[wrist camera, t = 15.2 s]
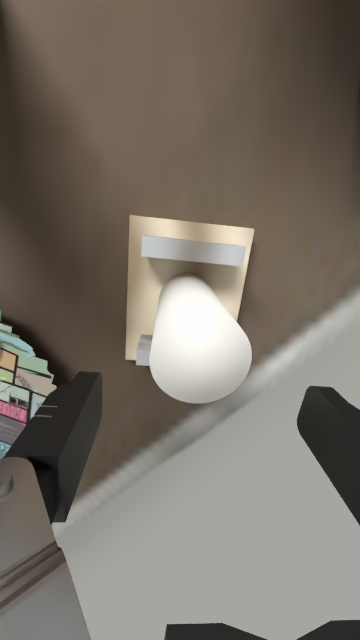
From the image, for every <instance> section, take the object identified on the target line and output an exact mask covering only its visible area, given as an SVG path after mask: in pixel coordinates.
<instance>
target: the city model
mask: <svg viewBox="0 0 360 640" xmlns="http://www.w3.org/2000/svg"><path fill="white" fill-rule="evenodd" d="M11 330H12V326H11V325H9V324H6V323H4V322H1V310H0V459H2V458H3V457H4V456H5V454H6V453H7V451H8V450H9V449H10V447H11V446H12V444H13V443H14V442H15V440H16V439H17V437H18V436H19V435H20V433H21V432H22V431H23V429H24V428H25V426H26V425H27V424H28V422H29V421H30V419H31V418H32V417H34V414H35V413H36V411H37V410H38V408H39V407H41V404H42V403H43V401H44V400H45V399H46V397H47V396H48V395H49V393H51V392H52V391H53V390H55V389H56V388H57V386H56V385H53V384H52V380H53V377H54V375H52V374H50V373H49V372H48V370H47V362H48V361H46V360H43V359H40V358H36V357H33V356H35V353H34V352H33V351H32V350H33V348H32V347H31V346H29V345H28V344H27V343H25V342H24V341H22V340H21V339H20V338H19V336H18V335H15V334H13V333H11Z"/></svg>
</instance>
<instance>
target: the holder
mask: <svg viewBox="0 0 360 640" xmlns="http://www.w3.org/2000/svg"><path fill="white" fill-rule="evenodd" d="M253 234H254V229H251V228H242V227H233V226H224V225H215V224H206V223H197V222H188V221H179V220H170V219H161V218H152V217H143V216H134V215H130V224H129V256H128V289H127V322H126V355H125V360H136V365H144V366H150V364H149V357H150V350H151V344H152V338H153V332H154V326H155V320H156V314H157V308H158V302H159V295H160V291H161V289H162V287H163V285H164V284H165V283H166V282H167V281H168V280H169V279H170V278H171V277H173V276H175V275H178V274H181V273H191V274H195V275H198V276H200V277H201V278H203V279H204V280H205V281H206V282H207V283H208V285H209V286H210V287H211V289H212V290H213V291H214V293H215V294H216V295H217V297H218V298H219V299H220V301H221V302H222V303H223V305H224V306H225V307H226V309H227V310H228V311H229V313H230V314H231V315H232V317H233V318H234V319H235V321H236V322H237V319H238V313H239V308H240V303H241V297H242V292H243V287H244V282H245V276H246V271H247V266H248V260H249V255H250V250H251V245H252V239H253Z"/></svg>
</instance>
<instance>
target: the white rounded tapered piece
mask: <svg viewBox="0 0 360 640" xmlns="http://www.w3.org/2000/svg"><path fill="white" fill-rule="evenodd" d="M251 360H252V352H251V346H250V343H249V340H248V338H247V336H246V334H245V333H244V331H243V330H242V328H241V327H240V326H239V324H238V323H237V322H236V321H235V319H234V318H233V317H232V315H231V314H230V313H229V311H228V310H227V309H226V307H225V306H224V305H223V303H222V302H221V301H220V299H219V298H218V297H217V295H216V294H215V293H214V291H213V290H212V289H211V287H210V286H209V285H208V283H207V282H206V281H205V280H204V279H203V278H201V277H200V276H198V275H195V274H191V273H181V274H178V275H175V276H173V277H171V278H170V279H169V280H168V281H167V282H166V283H165V284H164V285H163V287H162V289H161V291H160V295H159V302H158V308H157V314H156V320H155V326H154V332H153V338H152V344H151V350H150V357H149V364H150V370H151V373H152V376H153V378H154V380H155V382H156V383H157V385H158V386H159V387H160V388H161V389H162V390H163V391H164V392H165V393H167V394H168V395H170V396H171V397H173V398H175V399H177V400H180V401H183V402H187V403H199V404H201V403H209V402H213V401H216V400H219V399H221V398H224V397H226V396H227V395H229V394H231V393H232V392H233V391H234V390H236V389H237V388H238V387H239V386H240V385H241V383H242V382H243V381H244V379H245V378H246V376H247V374H248V372H249V369H250V366H251Z"/></svg>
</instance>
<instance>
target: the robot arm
mask: <svg viewBox="0 0 360 640" xmlns="http://www.w3.org/2000/svg"><path fill="white" fill-rule="evenodd" d="M101 414H102V374H101V373H99V372H83V371H80V372H79V373H78V374H77V376H76V377H75V379H74V381H73V382H72V384H71V385H61V386H59V387H58V388H56V389H55V390H53V391H52V392H51V393H49V395H48V396H47V397H46V399H45V400H44V401H43V403H42V404H41V407H39V408H38V410H37V411H36V413H35V414H34V417H32V418H31V419H30V421H29V422H28V424H27V425H26V426H25V428H24V429H23V431H22V432H21V433H20V435H19V436H18V437H17V439H16V440H15V442H14V443H13V444H12V446H11V447H10V449H9V450H8V451H7V453H6V454H5V456H4V457H3V458H2V459H0V640H91V638H90V635H89V632H88V628H87V625H86V622H85V619H84V616H83V612H82V609H81V606H80V603H79V600H78V596H77V593H76V590H75V587H74V584H73V581H72V577H71V574H70V571H69V568H68V565H67V562H66V559H65V556H64V553H63V551H62V549H61V548H60V547H58V546H57V543H56V540H55V537H54V534H53V530H52V527H51V525H52V522H66V519H67V516H68V513H69V510H70V507H71V505H72V502H73V499H74V496H75V493H76V490H77V487H78V484H79V482H80V479H81V476H82V473H83V470H84V467H85V464H86V461H87V459H88V456H89V453H90V450H91V447H92V444H93V441H94V438H95V436H96V433H97V430H98V427H99V424H100V420H101ZM297 426H298V430H299V433H300V434H301V436H302V438H303V439H304V441H305V442H306V444H307V445H308V447H309V448H310V450H311V451H312V453H313V454H314V456H315V457H316V459H317V461H318V462H319V464H320V465H321V467H322V468H323V470H324V471H325V473H326V474H327V476H328V477H329V479H330V481H331V482H332V484H333V485H334V487H335V488H336V490H337V491H338V493H339V494H340V496H341V497H342V499H343V500H344V502H345V503H346V505H347V506H348V508H349V510H350V511H351V513H352V514H353V516H354V517H355V519H356V520H357V522H358V523H359V525H360V410H359V409H357V408H356V407H354V406H353V405H351V404H350V403H348V402H347V401H346V400H345V399H344V398H343V397H342V396H340V394H339V393H338V392H337V391H335V389H333V388H331V387H321V386H320V387H319V386H310V387H308V389H307V390H306V393H305V396H304V399H303V402H302V405H301V408H300V411H299V414H298V418H297ZM164 640H267V639H264V638H261V637H258V636H256V635H253V634H250V633H248V632H244V631H242V630H239V629H237V628H234V627H231V626H228V625H226V624H223V623H209V624H167V627H166V633H165V639H164ZM297 640H360V620H342V621H341V620H339V621H330V622H328V623H326V624H324V625H322V626H320V627H319V628H317V629H315V630H313V631H311V632H309V633H308V634H306V635H304V636H302V637H300V638H298V639H297Z"/></svg>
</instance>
